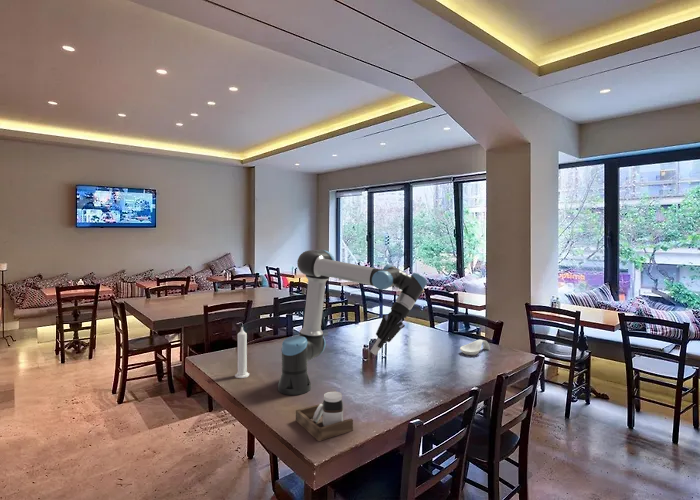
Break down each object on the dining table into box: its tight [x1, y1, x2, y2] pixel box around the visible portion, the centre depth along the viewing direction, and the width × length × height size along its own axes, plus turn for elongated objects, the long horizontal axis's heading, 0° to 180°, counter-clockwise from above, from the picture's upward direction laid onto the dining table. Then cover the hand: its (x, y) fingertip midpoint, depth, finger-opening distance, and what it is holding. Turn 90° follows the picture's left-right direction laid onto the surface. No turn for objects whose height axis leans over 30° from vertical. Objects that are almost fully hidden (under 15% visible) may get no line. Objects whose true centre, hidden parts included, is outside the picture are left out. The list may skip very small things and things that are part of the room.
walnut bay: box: [295, 402, 354, 442], centre depth 148 cm, size 18×14×4 cm
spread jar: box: [312, 391, 344, 427], centre depth 149 cm, size 12×11×12 cm
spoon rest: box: [459, 339, 491, 356], centre depth 244 cm, size 24×12×7 cm, turn 129°
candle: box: [234, 326, 250, 379], centre depth 200 cm, size 7×7×25 cm
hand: (372, 353), depth 164 cm, fingers closed
